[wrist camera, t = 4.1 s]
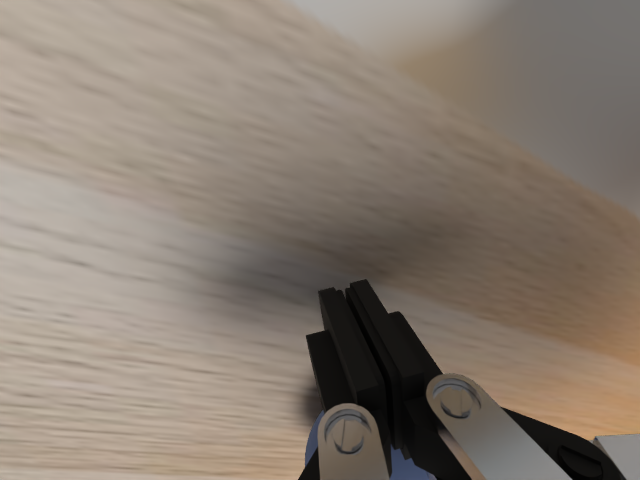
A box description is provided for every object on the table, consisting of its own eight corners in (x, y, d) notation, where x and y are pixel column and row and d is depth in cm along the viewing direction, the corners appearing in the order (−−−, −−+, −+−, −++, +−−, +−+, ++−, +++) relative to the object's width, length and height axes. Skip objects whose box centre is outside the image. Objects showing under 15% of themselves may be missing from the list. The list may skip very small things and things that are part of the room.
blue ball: (403, 345, 14) (483, 476, 10) (407, 420, 17) (472, 552, 12) (284, 381, 14) (307, 539, 9) (306, 453, 16) (334, 605, 12)
